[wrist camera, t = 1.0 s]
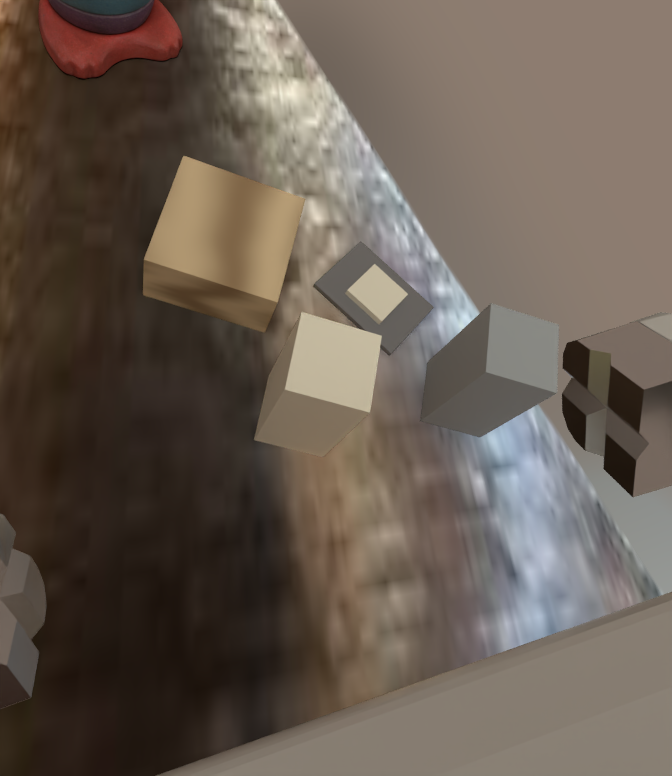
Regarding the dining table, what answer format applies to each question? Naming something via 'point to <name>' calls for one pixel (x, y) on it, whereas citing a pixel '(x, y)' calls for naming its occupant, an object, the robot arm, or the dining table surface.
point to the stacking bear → (106, 33)
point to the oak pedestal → (222, 245)
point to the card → (373, 296)
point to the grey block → (491, 372)
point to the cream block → (318, 386)
